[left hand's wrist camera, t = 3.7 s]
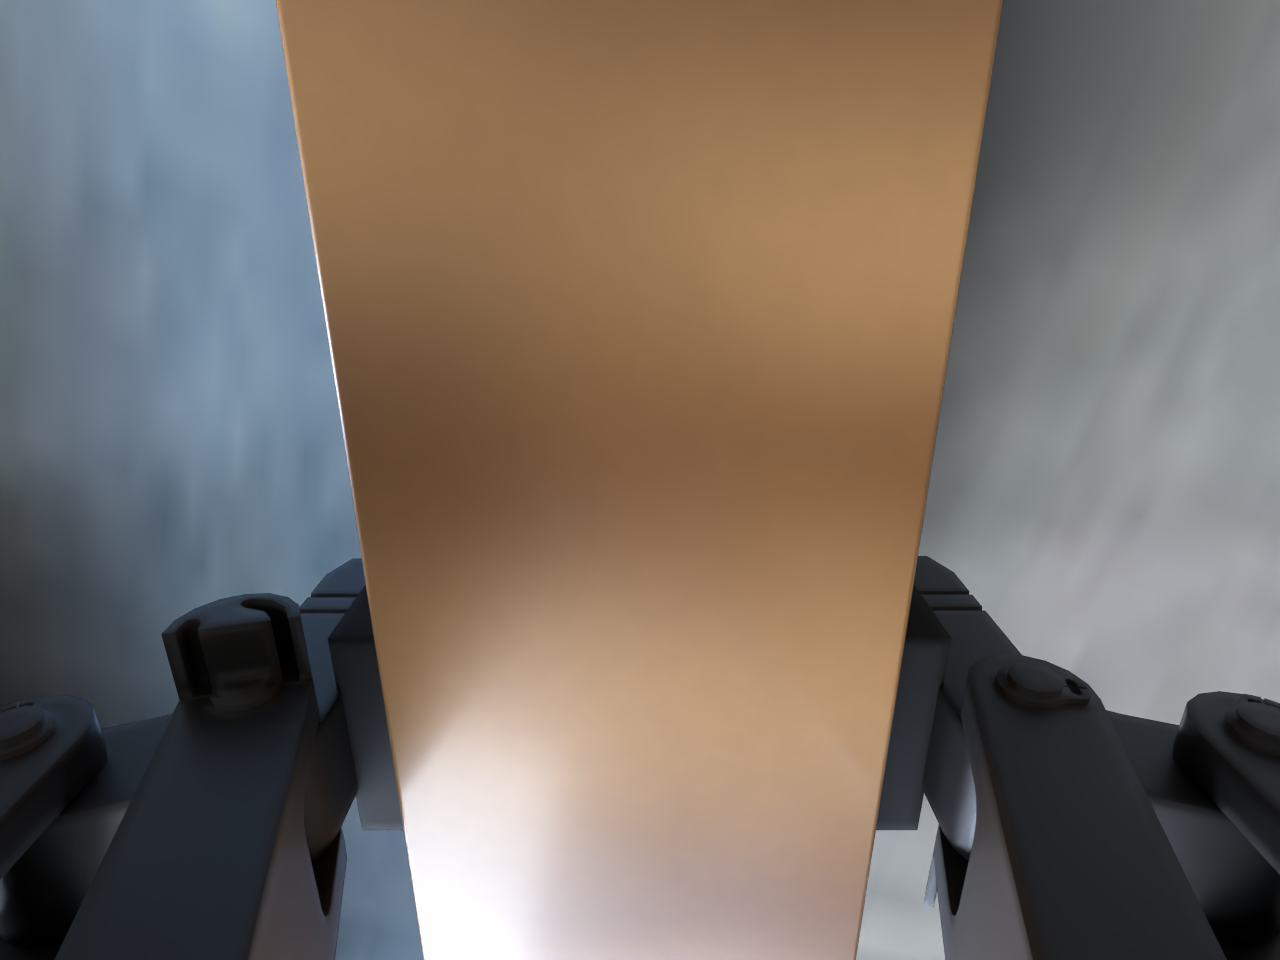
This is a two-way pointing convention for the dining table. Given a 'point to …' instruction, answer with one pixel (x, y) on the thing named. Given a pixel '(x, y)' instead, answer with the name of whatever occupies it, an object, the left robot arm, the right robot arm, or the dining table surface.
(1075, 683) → the left robot arm
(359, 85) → the beam
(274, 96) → the dining table surface
